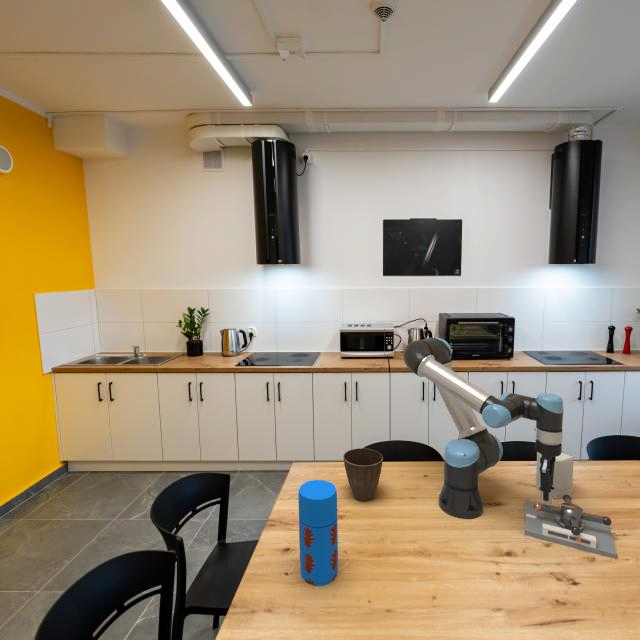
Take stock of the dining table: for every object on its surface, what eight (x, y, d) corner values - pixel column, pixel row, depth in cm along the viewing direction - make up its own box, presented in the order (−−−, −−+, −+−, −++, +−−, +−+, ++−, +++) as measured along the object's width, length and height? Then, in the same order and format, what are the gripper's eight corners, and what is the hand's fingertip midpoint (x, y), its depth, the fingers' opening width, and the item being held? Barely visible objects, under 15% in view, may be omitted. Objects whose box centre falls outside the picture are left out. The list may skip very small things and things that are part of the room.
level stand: (524, 535, 127) (524, 524, 127) (526, 503, 145) (526, 493, 144) (616, 560, 115) (617, 548, 115) (606, 521, 133) (607, 511, 133)
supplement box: (573, 494, 150) (575, 457, 148) (555, 499, 147) (557, 461, 145) (551, 483, 158) (553, 447, 157) (534, 487, 155) (536, 451, 154)
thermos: (325, 592, 106) (323, 504, 103) (292, 576, 111) (290, 493, 109) (344, 566, 115) (343, 485, 112) (313, 553, 120) (312, 476, 118)
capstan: (619, 556, 115) (620, 535, 114) (534, 536, 124) (535, 517, 123) (603, 515, 134) (604, 497, 133) (531, 501, 143) (531, 484, 142)
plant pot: (338, 503, 147) (338, 462, 146) (350, 483, 161) (349, 445, 159) (378, 510, 142) (378, 468, 140) (386, 489, 156) (386, 451, 154)
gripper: (540, 432, 138) (537, 496, 141) (531, 444, 128) (529, 513, 131) (565, 437, 133) (562, 503, 136) (558, 450, 123) (555, 521, 126)
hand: (546, 508), depth 133 cm, fingers closed
